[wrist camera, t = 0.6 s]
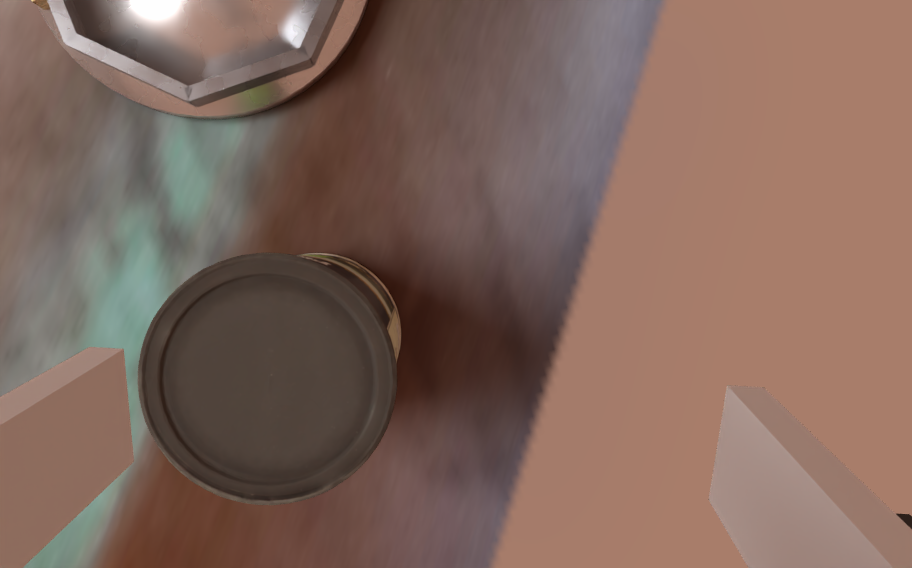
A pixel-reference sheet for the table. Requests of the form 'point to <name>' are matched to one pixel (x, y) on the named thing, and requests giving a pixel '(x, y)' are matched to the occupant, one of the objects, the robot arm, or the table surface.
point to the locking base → (205, 49)
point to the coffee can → (271, 375)
